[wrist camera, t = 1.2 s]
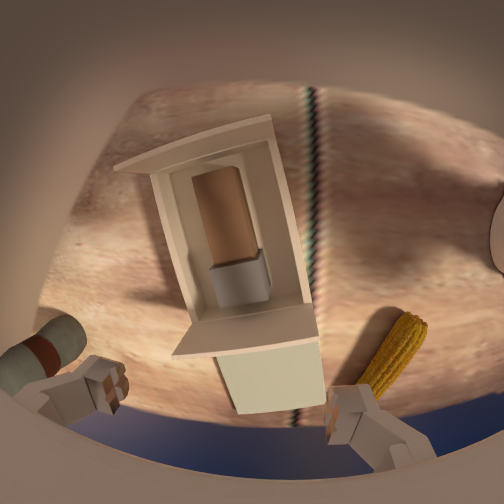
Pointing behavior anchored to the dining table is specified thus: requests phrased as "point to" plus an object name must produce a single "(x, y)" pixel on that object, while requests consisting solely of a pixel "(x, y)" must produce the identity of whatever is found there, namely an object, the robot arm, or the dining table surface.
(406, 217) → the dining table surface
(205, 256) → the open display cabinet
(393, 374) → the food
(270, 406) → the board
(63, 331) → the bottle
